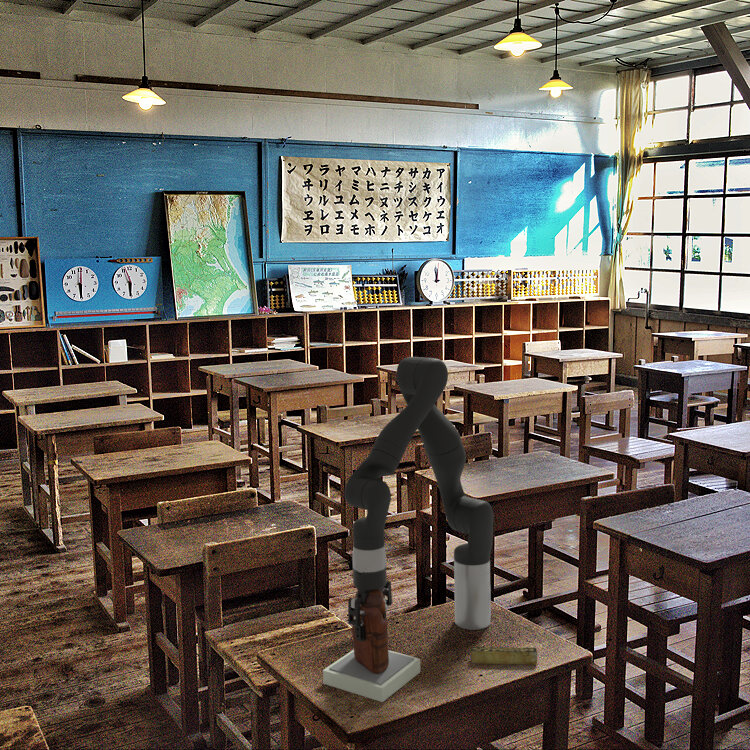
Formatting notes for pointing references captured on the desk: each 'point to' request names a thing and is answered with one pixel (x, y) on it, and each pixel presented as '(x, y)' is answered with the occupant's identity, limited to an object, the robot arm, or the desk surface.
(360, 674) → the plinth
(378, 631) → the wooden figurine
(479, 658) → the decorative block
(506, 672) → the desk surface
